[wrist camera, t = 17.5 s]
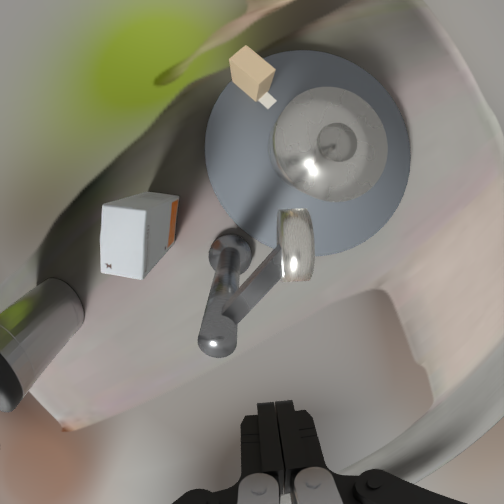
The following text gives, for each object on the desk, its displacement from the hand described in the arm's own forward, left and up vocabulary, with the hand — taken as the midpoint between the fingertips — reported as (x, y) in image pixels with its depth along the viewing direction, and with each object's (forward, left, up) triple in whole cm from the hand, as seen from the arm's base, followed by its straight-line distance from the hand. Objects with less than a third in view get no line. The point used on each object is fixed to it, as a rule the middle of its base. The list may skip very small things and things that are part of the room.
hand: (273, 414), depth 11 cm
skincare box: (-11, +5, -25) cm, 27 cm away
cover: (+7, +12, -22) cm, 26 cm away
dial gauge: (-1, +2, -24) cm, 24 cm away
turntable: (+7, +12, -24) cm, 28 cm away
